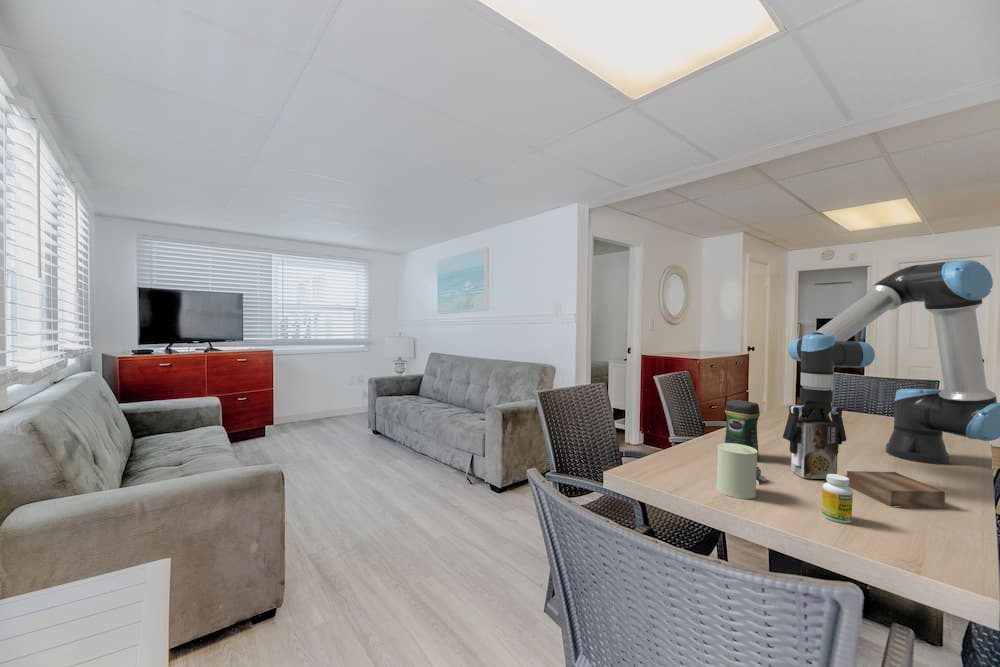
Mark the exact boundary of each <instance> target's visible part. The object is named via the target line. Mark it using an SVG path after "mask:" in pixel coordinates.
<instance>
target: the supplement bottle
mask: <svg viewBox="0 0 1000 667" xmlns="http://www.w3.org/2000/svg"><path fill="white" fill-rule="evenodd" d="M825 480H826V482H825V483H823V484H822V490H821V492H822V493H821V495H822V496H821V498H822V499H821V514H822V516H823V517H824V518H825V519H827V520H829V521H832V522H834V523H839V524H850V523H851V522H852V517H853V513H852V512H853V498H854V497H853V496H854V494H853V492H854V491H853V489H852V488H851V487H849V486H848V485H849V478H847V476H846V475H845V476H844V475H842V474H838V473H837V474H827V479H825Z"/></svg>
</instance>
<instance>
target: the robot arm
mask: <svg viewBox="0 0 1000 667" xmlns="http://www.w3.org/2000/svg"><path fill="white" fill-rule="evenodd" d="M993 284H994V282H993V277H992V274H991V272H990V270H989V269H988V268H987V267H986V266H985V265H984V264H981V263H980V262H979V261H976V260H973V259H961V260H960V259H959V260H957V259H955V260H949V261H948V260H947V261H946V260H945V261H941V262H933V263H931V262H930V263H925V264H916V265H911V266H907V267H903V268H901V269H899V270H897V271H895V272H893V273H891V274H889V275H886V276H885V277H883V278H882V279H880V280H879V281H877V282H876V283H874V284H873V285H872V286H870V287H868V289H867V292H866V293H865V295H864V296H862V297H861V298H859V300H857V301H855V302H854V303H852V304H851V305H850V306H849V307H847V308H846V309H844V310H843V311H842V312H840V313H839V314H838V315H836V316H835V317H834V318H832V319H831V320H829V321H828V322H827V323H826V324H823V326H821V327H820V328H819V329H817V330H816V331H814V332H813V333H811V334H810V333H809V334H805V335H803V336H802V337H801V338H795V339H793V340H791V341H790V343H789V344H788V348H787V349H788V350H787V351H788V354H789V356H790V358H791V359H792V360H794V361H797V362H800V384H799V385H800V386H801V387H800V388H799V400H800V404H799V406H798V405H795V406H793V405H790V406H789V407H788V412H789V414H788V417H787V421H786V425H785V428H784V431H783V434H782V438H783V439H784V440H787V441H789V452H790V453H791V455H792V463H793V464H795V465H797V466H801V447H802V444H801V443H799V441H800V439H801V433H802V429H801V428H800V427H798V426H797V423H798V419H800V420H803V421H805V422H812V421H813V420H814V421H815V420H820V421H826V422H831V421H832V422H834V423H837V424H838V448H839V445H842V444H843V442H844V443H845V442H846V441H847V435H846V431H845V426H844V425H845V424H844V422H843V417H842V416H843V408H842V407H839V406H835V405H833V406H832V405H831V404H832V403H833V396H834V395H833V394H834V393H833V390H832V389H833V388H834V372H835V371H834V369H835V368H855V369H857V368H865V367H869V366H870V365H871V364H872V363H873V362H874V360H875V357H876V354H875V353H876V352H875V349H874V348H873V346H872V345H871V344H869V343H868V342H865V341H858V340H857V341H856V340H853V341H852V340H851V341H848V340H849V339H850V338H852V337H853V336H855V335H857V333H858V334H859V332H861V330H863V329H865V328H866V327H868V325H870V324H871V323H873V322H874V321H875V320H877V319H878V318H879V317H881V316H882V315H883V314H885V313H886V312H888V311H893V310H896V309H898V308H899V307H900V306H902V305H905V304H909V303H915V302H916V303H917V302H919V303H921V302H923V304H924V309H925V311H928V312H929V313H931V314H933V321H934V327H935V334H936V340H937V348H938V354H939V359H940V366H941V373H942V381H943V386H944V388H943V389H934V388H933V389H932V388H929V389H928V388H900V389H898V390H896V391H895V398H894V401H893V402H894V406H893V407H894V413H893V431H892V433H891V435H890V437H889V440H888V442H887V443H886V444H885V453H887V454H888V455H891V456H894V457H897V458H900V459H904V460H909V461H914V462H919V463H926V464H936V465H946V464H949V463H950V454H949V452H947V448H946V445H945V442H944V438H943V433H947V434H952V435H955V436H958V437H964V438H968V439H969V440H979V441H984V442H992V441H996V440H998V439H1000V402H998V401H997V395H996V393H995V392H994V391H993V390H990V389H989V388H988V387H987V386H988V385H987V380H986V374H985V367H984V361H983V352H982V346H981V339H980V338H981V337H980V332H979V324H978V319H977V318H978V316H977V309H978V308H979V307H980V306H982V304H983V299H985V298H986V297H988V296H989V295H990V294H991V292H992V290H991V289H993ZM806 418H807V419H806ZM948 462H949V463H948Z"/></svg>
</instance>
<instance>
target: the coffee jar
mask: <svg viewBox="0 0 1000 667" xmlns="http://www.w3.org/2000/svg"><path fill="white" fill-rule="evenodd" d="M724 412H725V416H726V430H725V438H724V443H735V444H741V445H746V446H749V447H752V448H754V449H756V450H757V451H758V453H757V459H758V458H759V455H760V454H759V441H758V421H759V419H760V415H761V411H760V406H759V404H758V402H757V403H756V402H752V401H746V400H741V399H729V400H727V401H726V404H725V410H724Z"/></svg>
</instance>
